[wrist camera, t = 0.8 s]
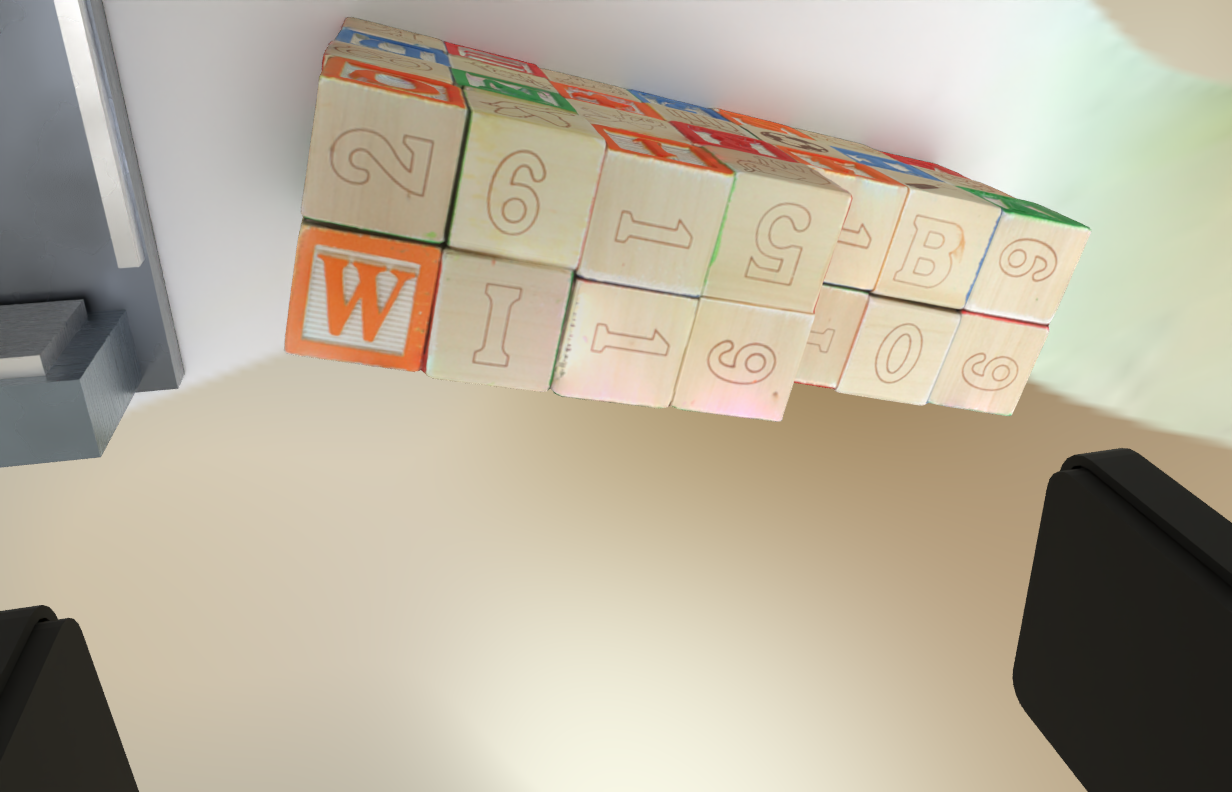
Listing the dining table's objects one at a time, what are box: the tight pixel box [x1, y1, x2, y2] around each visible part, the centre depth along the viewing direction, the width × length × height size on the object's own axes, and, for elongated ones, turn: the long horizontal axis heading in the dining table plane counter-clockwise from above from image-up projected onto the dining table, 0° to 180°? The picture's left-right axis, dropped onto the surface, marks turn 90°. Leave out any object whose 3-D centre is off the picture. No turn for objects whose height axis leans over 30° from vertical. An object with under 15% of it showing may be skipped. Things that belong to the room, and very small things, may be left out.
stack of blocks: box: [284, 17, 1091, 422], centre depth 29 cm, size 21×6×12 cm, turn 76°
